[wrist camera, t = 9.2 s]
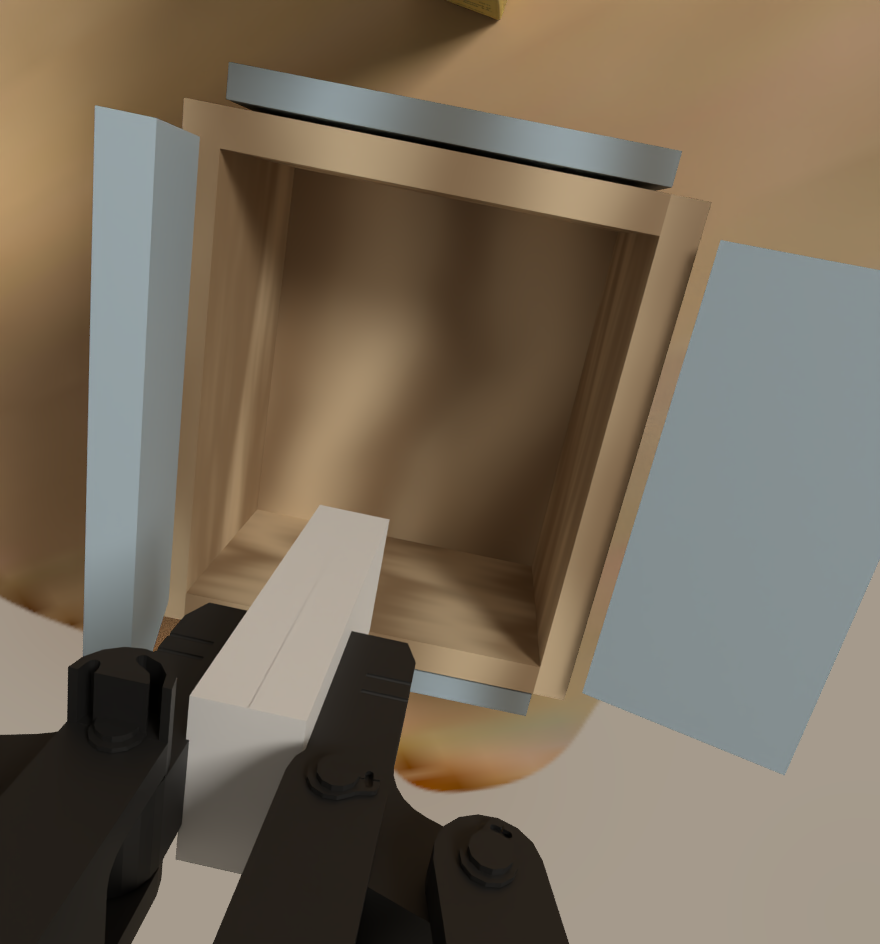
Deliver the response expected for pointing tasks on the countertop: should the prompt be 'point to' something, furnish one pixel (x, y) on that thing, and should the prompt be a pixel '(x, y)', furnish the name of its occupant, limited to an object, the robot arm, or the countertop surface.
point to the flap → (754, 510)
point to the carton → (423, 362)
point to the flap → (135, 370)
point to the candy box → (484, 6)
